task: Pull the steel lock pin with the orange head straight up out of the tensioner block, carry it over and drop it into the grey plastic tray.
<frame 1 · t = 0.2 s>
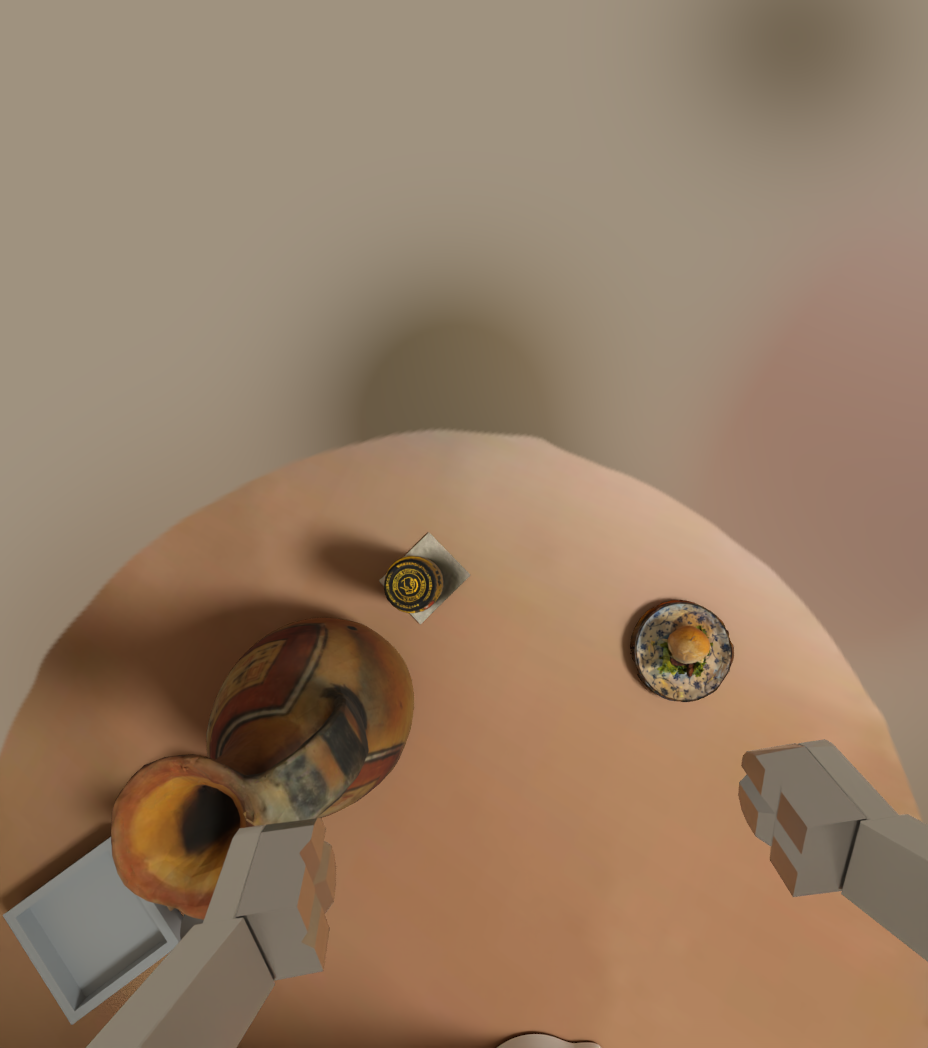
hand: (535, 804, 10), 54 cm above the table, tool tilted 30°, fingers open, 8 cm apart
ceramic pitcher: (333, 695, 63), on the table
condiment: (424, 577, 64), on the table
burger: (677, 648, 64), on the table
tray: (105, 915, 61), on the table
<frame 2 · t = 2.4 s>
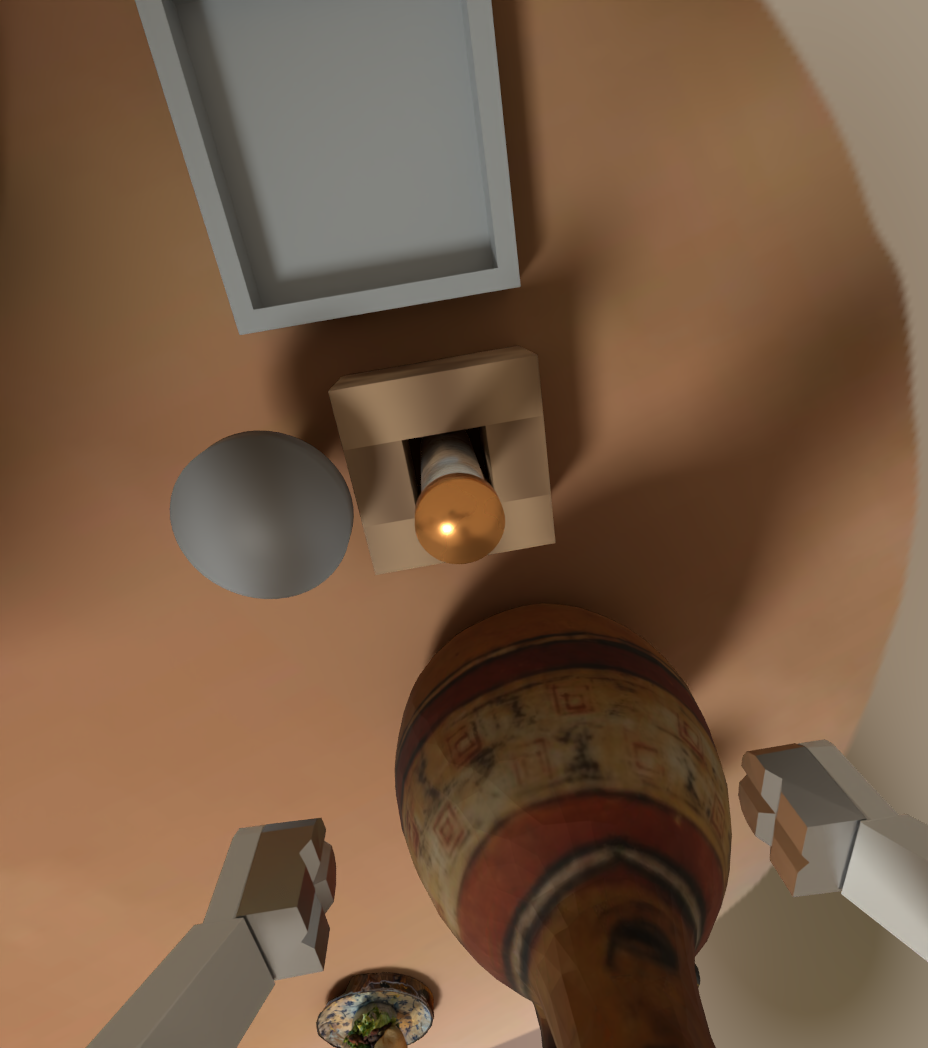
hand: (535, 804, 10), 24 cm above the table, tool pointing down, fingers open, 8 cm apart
ceramic pitcher: (529, 693, 40), on the table
burger: (376, 1000, 55), on the table
tray: (351, 153, 25), on the table
lock pin: (445, 446, 31), resting in tensioner block
tensioner block: (445, 447, 31), on the table
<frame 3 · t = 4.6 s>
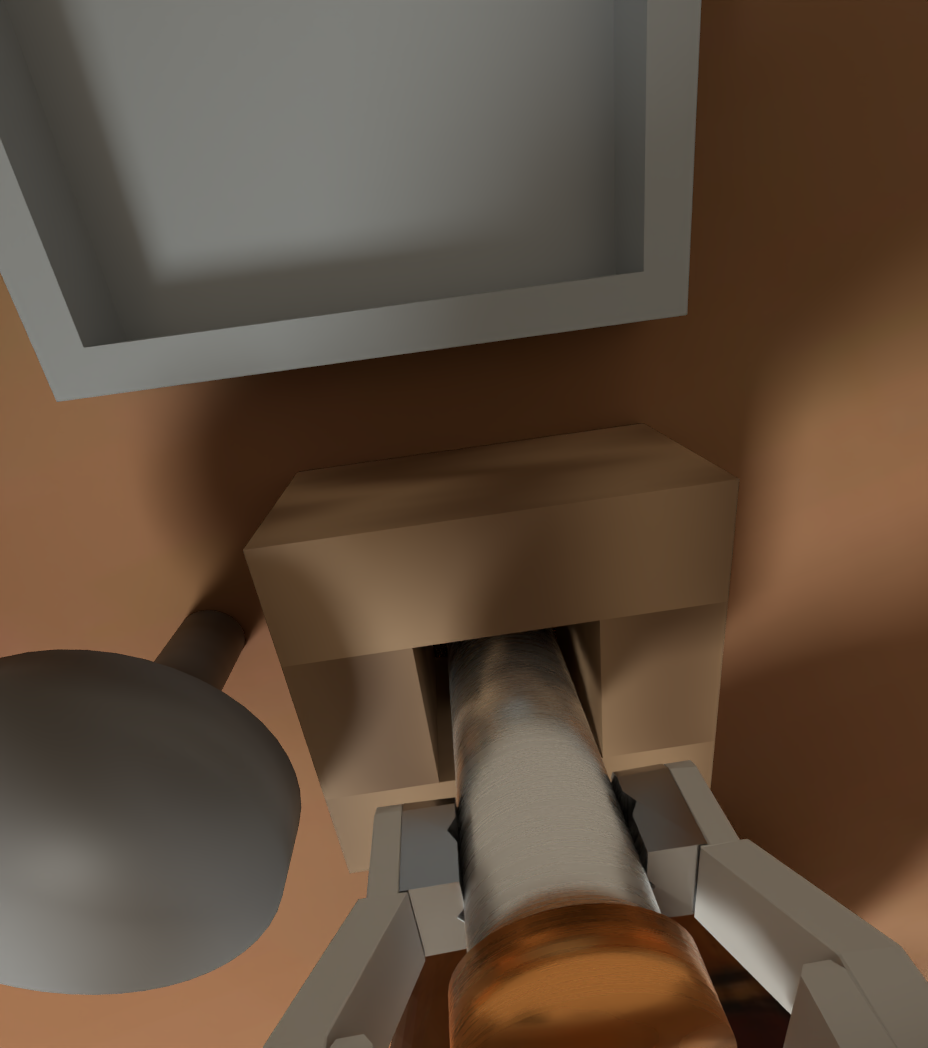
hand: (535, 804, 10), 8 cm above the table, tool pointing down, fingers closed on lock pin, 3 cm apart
ceramic pitcher: (593, 937, 25), on the table
lock pin: (489, 596, 17), resting in tensioner block, touching gripper
tensioner block: (489, 596, 17), on the table
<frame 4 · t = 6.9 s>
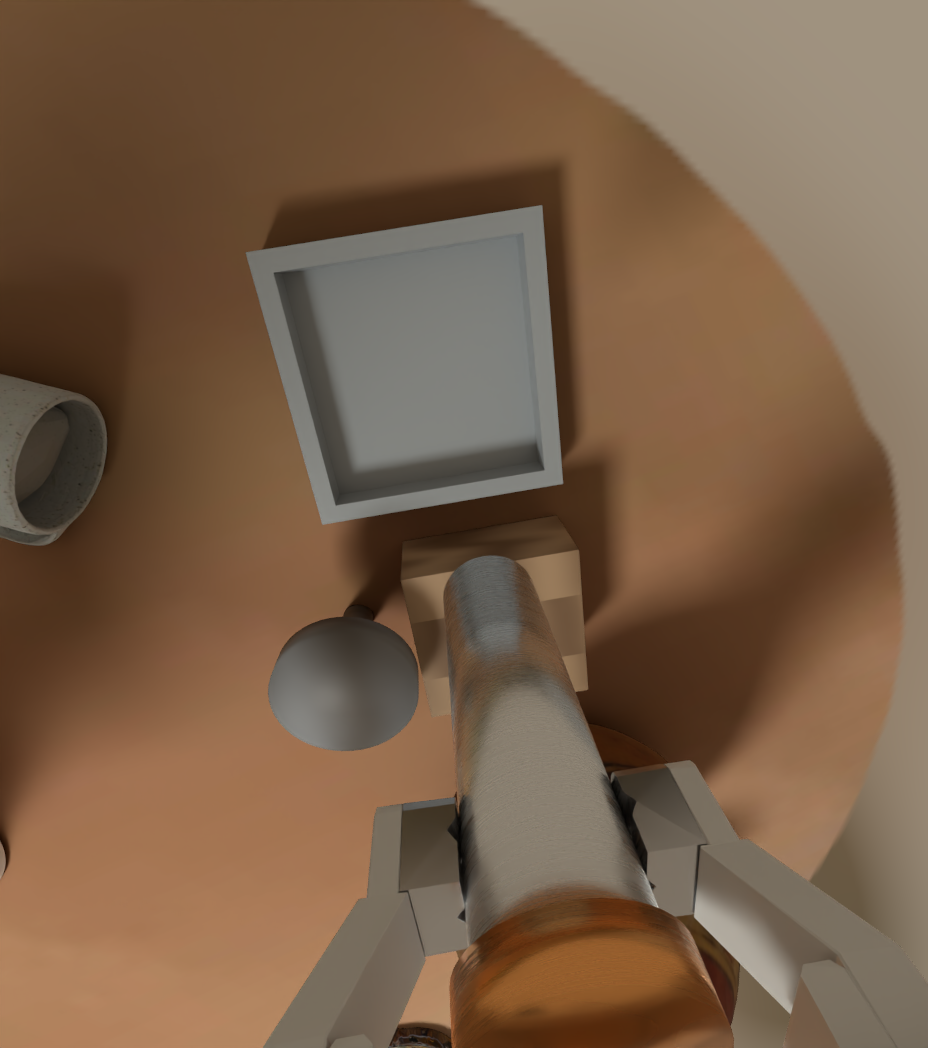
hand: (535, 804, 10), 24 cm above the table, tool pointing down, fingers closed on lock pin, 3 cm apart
ceramic pitcher: (555, 790, 44), on the table
ceramic mug: (41, 450, 30), on the table
tray: (421, 374, 30), on the table
lock pin: (489, 596, 17), point 16 cm above the table, touching gripper
tensioner block: (489, 594, 36), on the table
when the fingers open (10 cm above the table, at t = 9.0 s): lock pin drops 2 cm, resting on tray.
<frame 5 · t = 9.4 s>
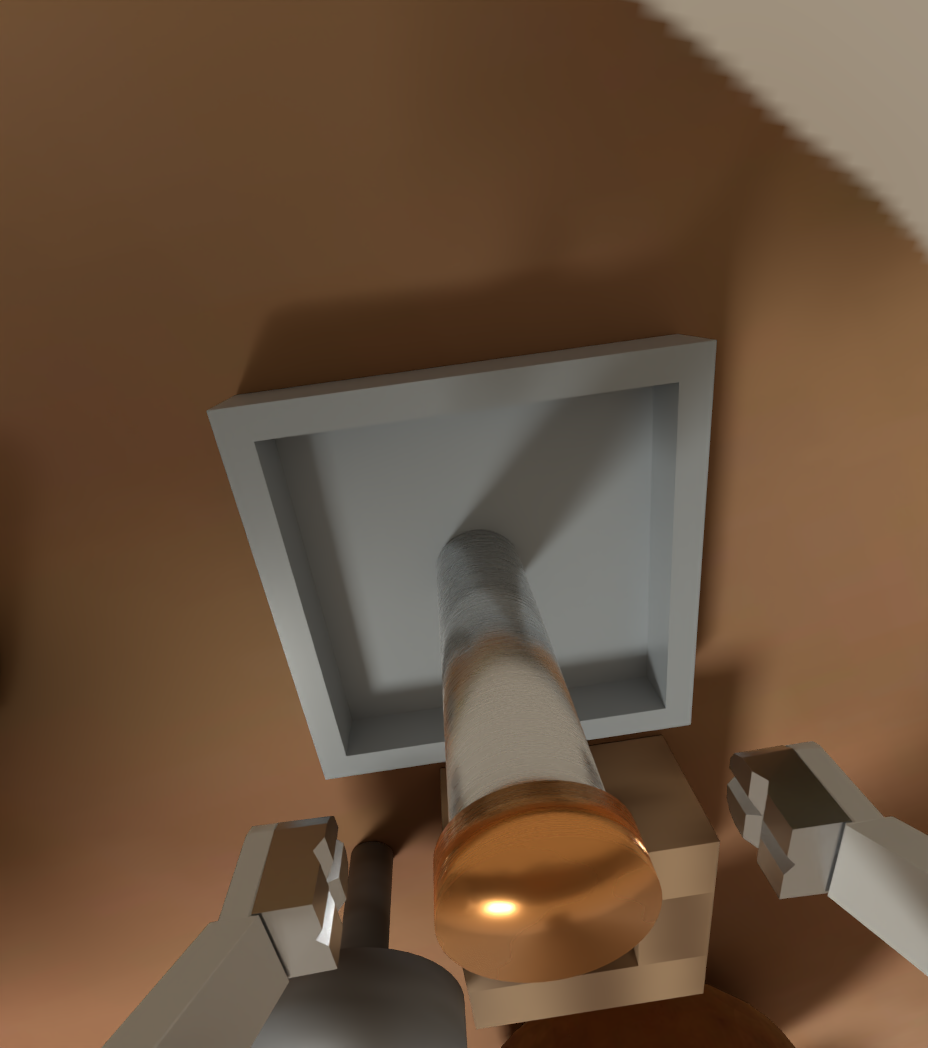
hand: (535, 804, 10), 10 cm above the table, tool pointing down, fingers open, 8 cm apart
ceramic pitcher: (618, 1026, 34), on the table
tray: (482, 560, 19), on the table
lock pin: (478, 567, 19), point 1 cm above the table, touching tray
tensioner block: (557, 827, 25), on the table
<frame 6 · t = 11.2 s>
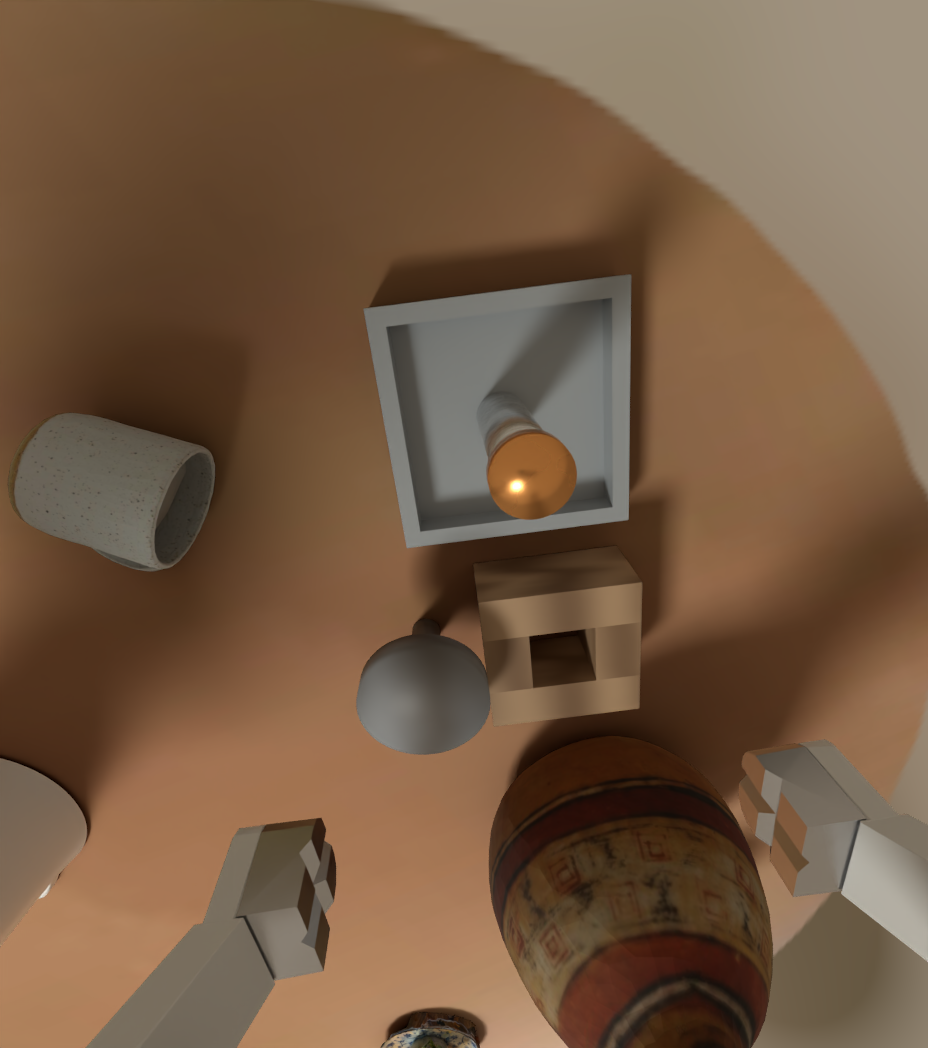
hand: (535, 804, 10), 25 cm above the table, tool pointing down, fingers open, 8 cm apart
ceramic pitcher: (593, 797, 47), on the table
burger: (429, 1033, 62), on the table
ceramic mug: (155, 487, 34), on the table
tray: (503, 415, 32), on the table
lock pin: (501, 416, 32), point 1 cm above the table, touching tray
tensioner block: (548, 615, 39), on the table
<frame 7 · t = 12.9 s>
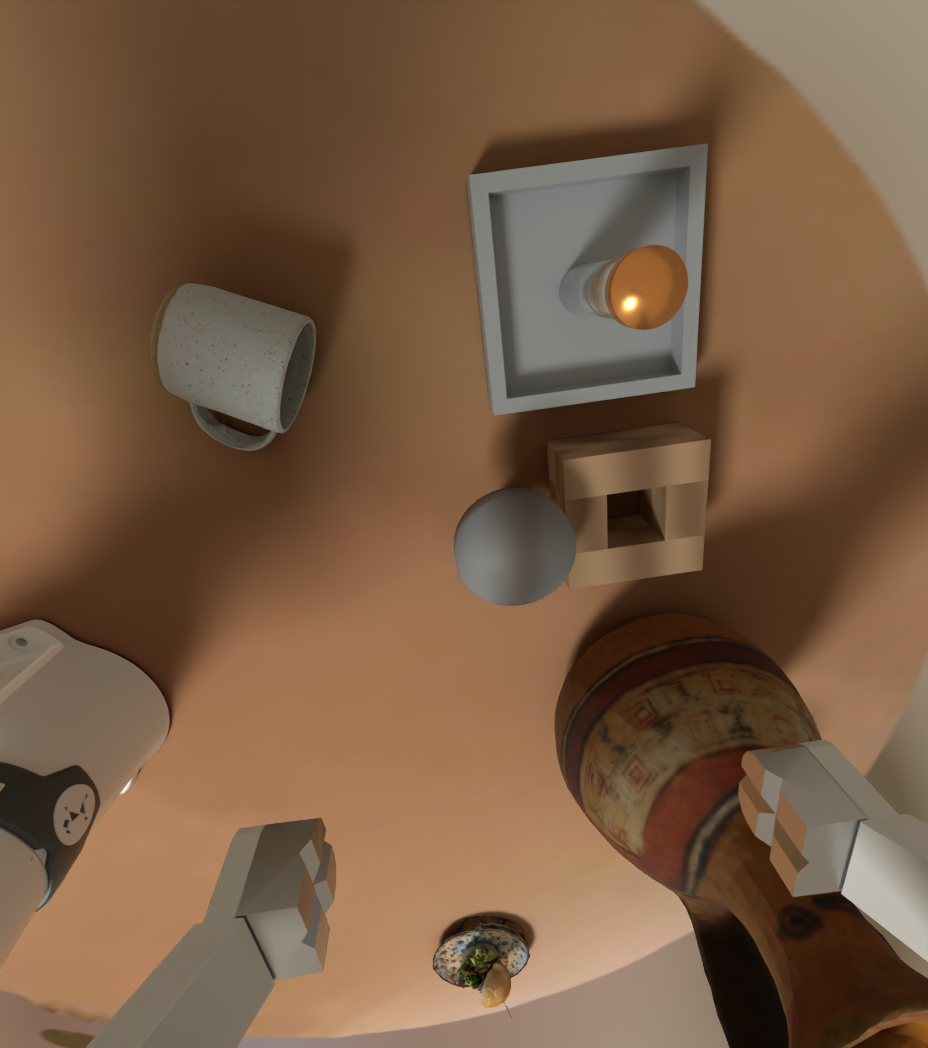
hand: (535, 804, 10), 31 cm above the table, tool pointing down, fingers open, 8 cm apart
ceramic pitcher: (645, 684, 50), on the table
burger: (479, 942, 65), on the table
ceramic mug: (257, 371, 36), on the table
tray: (581, 290, 36), on the table
lock pin: (581, 290, 35), point 1 cm above the table, touching tray
tensioner block: (612, 493, 42), on the table
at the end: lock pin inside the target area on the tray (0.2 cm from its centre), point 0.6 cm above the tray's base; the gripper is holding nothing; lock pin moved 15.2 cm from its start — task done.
